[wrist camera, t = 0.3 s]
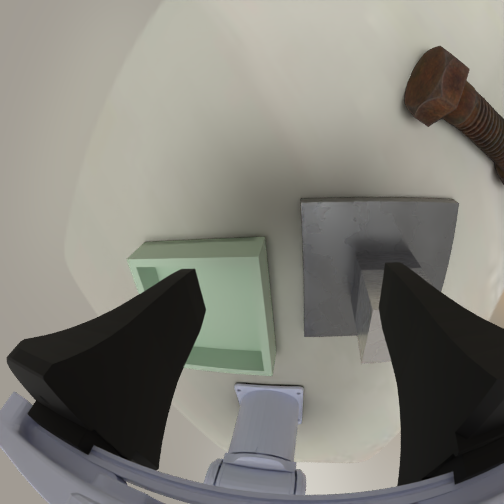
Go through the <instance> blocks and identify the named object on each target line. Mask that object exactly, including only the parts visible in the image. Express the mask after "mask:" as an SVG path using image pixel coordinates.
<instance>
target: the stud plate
mask: <svg viewBox="0 0 504 504" xmlns="http://www.w3.org/2000/svg"><path fill="white" fill-rule="evenodd" d="M458 206H459V203H458V202H456V201H455V200H454V199H441V198H407V197H339V198H304V199H301V217H302V237H303V265H304V337H323V336H353V335H357V331H356V326H355V320H354V314H353V309H352V304H351V299H352V289H353V279H354V266H355V253H367V252H403V251H411V252H412V254H413V255H414V257H415V258H416V260H417V261H418V263H419V265H420V266H421V268H422V269H423V271H424V272H425V274H426V276H427V277H428V279H429V281H430V282H431V284H432V285H433V287H435V288H436V289H437V290H439V291H440V292H441V290H442V287H443V283H444V279H445V275H446V271H447V267H448V263H449V259H450V254H451V249H452V244H453V239H454V233H455V227H456V221H457V214H458Z"/></svg>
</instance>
